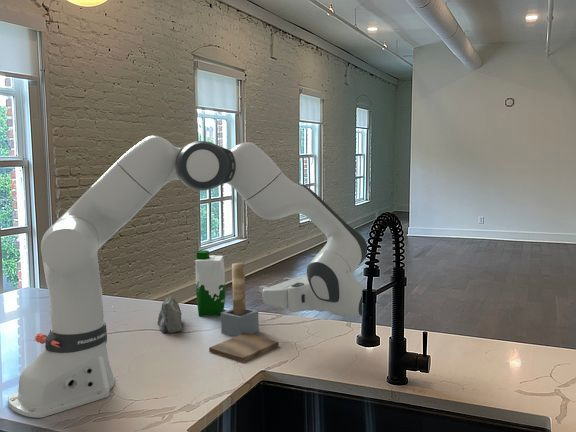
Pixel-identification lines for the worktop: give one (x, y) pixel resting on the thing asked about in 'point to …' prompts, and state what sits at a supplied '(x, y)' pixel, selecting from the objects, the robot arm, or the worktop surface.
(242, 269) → the dowel
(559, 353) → the worktop surface
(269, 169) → the robot arm
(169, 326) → the mineral rock
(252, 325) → the open box
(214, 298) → the milk carton
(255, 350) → the tray
